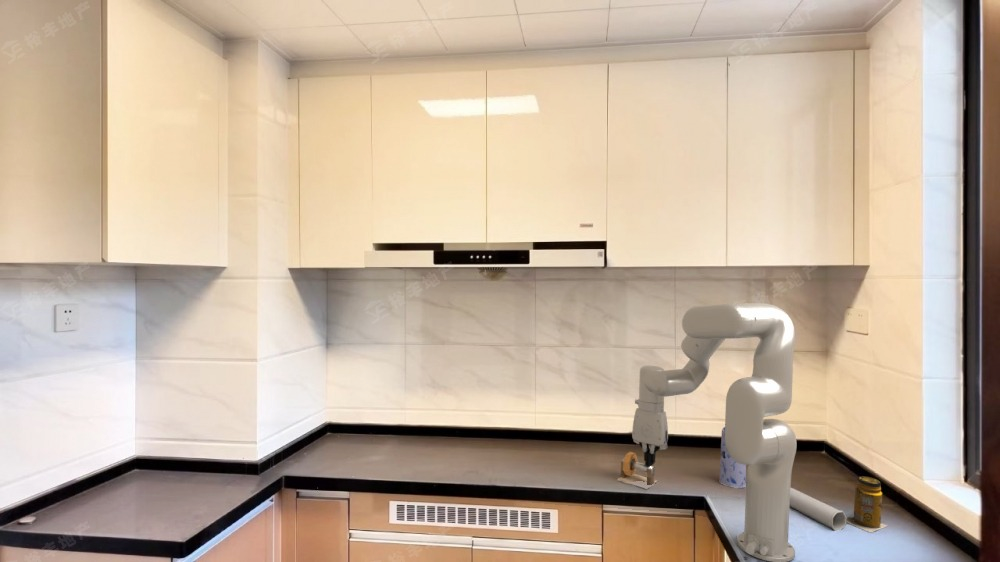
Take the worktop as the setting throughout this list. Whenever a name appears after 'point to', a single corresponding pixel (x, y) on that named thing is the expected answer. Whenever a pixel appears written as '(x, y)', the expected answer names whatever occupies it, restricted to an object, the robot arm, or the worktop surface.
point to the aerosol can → (731, 468)
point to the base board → (638, 477)
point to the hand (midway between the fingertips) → (649, 464)
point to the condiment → (867, 505)
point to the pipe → (640, 466)
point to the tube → (817, 510)
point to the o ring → (627, 462)
